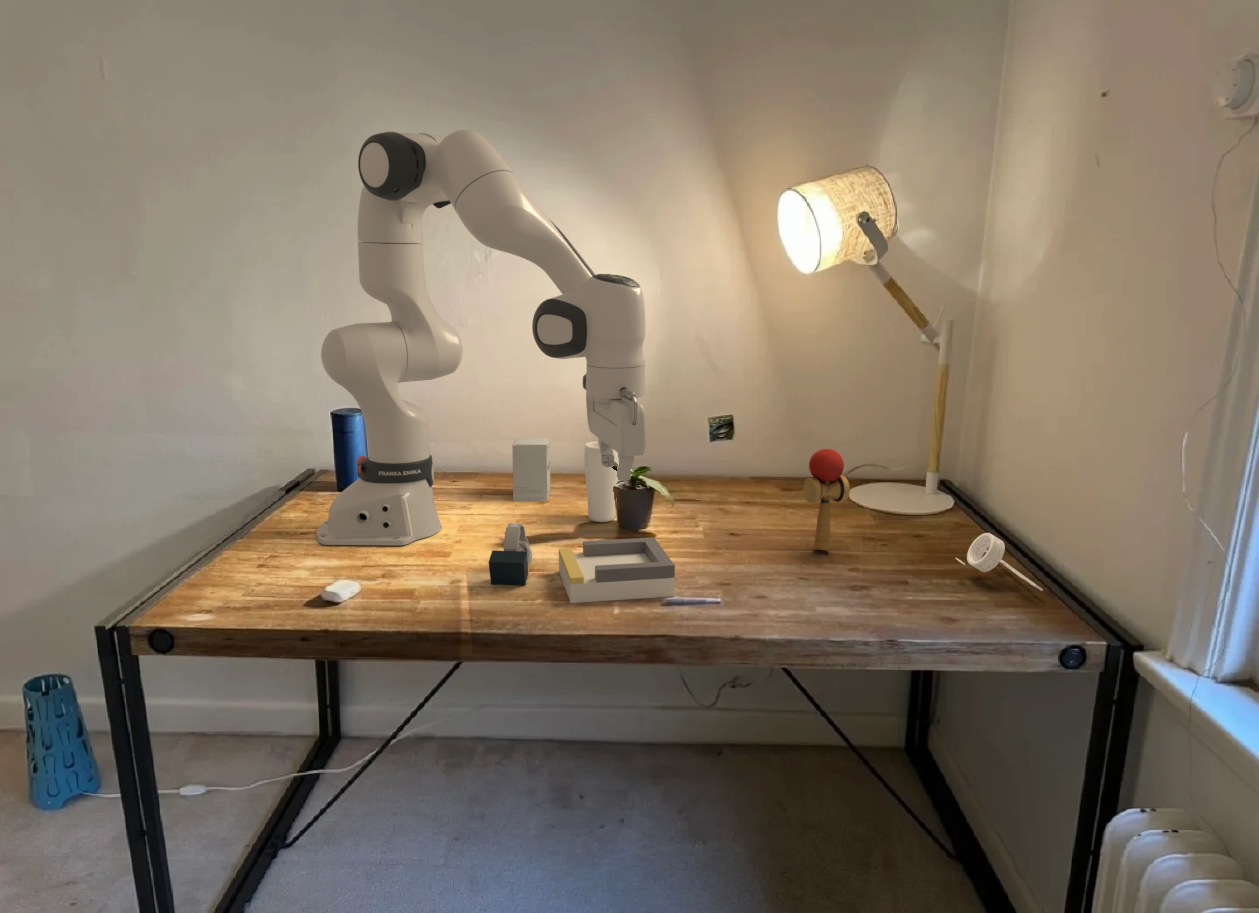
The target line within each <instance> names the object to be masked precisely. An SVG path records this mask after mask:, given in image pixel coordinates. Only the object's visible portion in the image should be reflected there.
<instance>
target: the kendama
mask: <svg viewBox="0 0 1259 913" xmlns="http://www.w3.org/2000/svg"><path fill="white" fill-rule="evenodd" d="M844 468H845V463H844V460H843V457H842V456H841V454H840V453H839V452H838V451H836V450H835V449H832V448H831V449H830V448H822V449H819V450H817V451H816V452H814V453H813V454H812V455H811V457H810V458H809V462H808V469H809V472H810V474H811V476H812V477H808V478H807V479H805V481H804V484H803V489H802V490H803V494H804V498H805V500H806V501H807V502H808V503H811V504H812V503H817V502H819V501H820V503H819V507H818V513H817V520H816V529H815V536H814V542H813V549H816V550H817V551H818V550H819V551H828V550H830V549H831V508H830V506H831V505H830V498H831V499H832V500H833V501H834V502H836V503H841V502H842V503H843V502H845V501H847V499H849V496H850V492H851V491H850V490H851V489H850V483H849V480H848V478H846V476H845V475H843V472H844Z"/></svg>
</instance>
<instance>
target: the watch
mask: <svg viewBox="0 0 1259 913" xmlns="http://www.w3.org/2000/svg"><path fill="white" fill-rule="evenodd" d="M504 533H505V534H504V539H503V542H502V543H503V550H497V549H496V550H493V549H492V551H491V554H490V557H489V560H488V568H489V577H490V578H489V579H490V585H506V586H508V585H509V586H511V585H512V586H526V585H527V580H528V577H529V565H530V563H531V562H532V559H533V551H532V549H531V546H530V542H529V539H528V537H526V529H525V525H524V524H523V523H518V522H509V523H508V525H507V527H506V528H505V532H504Z"/></svg>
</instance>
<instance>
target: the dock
mask: <svg viewBox="0 0 1259 913" xmlns="http://www.w3.org/2000/svg"><path fill="white" fill-rule="evenodd" d="M675 566H676V565H675V563H673V561H672V559H671V558H670V557H669V555H668V554H667V553H666V551H665V550H664V549H663V547H662V546H661V545H660V543H659V542H658V541H657V540H656V538H655V537H654V536H653V537H639V538H638V537H637V538H636V537H635V538H620V539H618V538H616V539H602V540H601V539H599V540H583V541H582V552H575V553H574V551H573V550H572V547H560V548H558V573H559V576H560V578H561V581H562V583H563V586H564V589H565V592H566V594H567V597H568V600H569V602H570V604H577V603H579V604H581V603H595V602H597V603H598V602H609V601H610V602H611V601H624V600H625V601H626V600H638V599H652V598H654V599H655V598H656V599H657V598H668V597H675V574H676V572H675V571H676V570H675V569H676V567H675Z"/></svg>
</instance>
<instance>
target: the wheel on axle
mask: <svg viewBox="0 0 1259 913" xmlns="http://www.w3.org/2000/svg"><path fill="white" fill-rule="evenodd" d="M1005 546H1006V545H1005V542H1004V541H1003V540H1002V539H1000V538H998V537H997V536H996V535H993V534H991V533H990V532H985V533H982V534H980V535H979V536H978V537H976V538H975V539H973V541H972V543H971V544H970V546H969V548H968V551H967V553H966V560H967V563H968V564H969V565H971V566H973V568H976V569H977V570H978V571H980V572H982V573H987V572H990V571H992V570H993V569H994V568H996V566H998V564H999V563H1001V564H1002V565H1003V566H1005V567H1006V568H1007V569H1009V570H1010V571H1011V572H1013V574H1015V575H1017V576H1018V577H1019V578H1021V579H1022V580H1024V581H1026V582H1027V583H1029V584H1030V585H1031V586H1033V587H1034V588H1036V589H1038V590H1039V591H1041V592H1043V590H1044V589H1043V588H1042V587H1040V586H1038V585H1037V584H1036V583H1034V582H1033V581H1032V580H1031V579H1029V578H1028V577H1026V576H1025V575H1024V574H1022V573H1021V572H1019V571H1018V570H1017V569H1015V568H1014V567H1012V566H1011V565H1010V564H1008V563H1007V562H1006V561H1004V560H1003V559H1002V558H1003V556H1004V554H1005V551H1006V547H1005ZM955 560H956V561H958V562H959V563H961V564H962V565H964V566H966V563H965V562H963V561H962V559H959V558H957V557H955Z"/></svg>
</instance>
